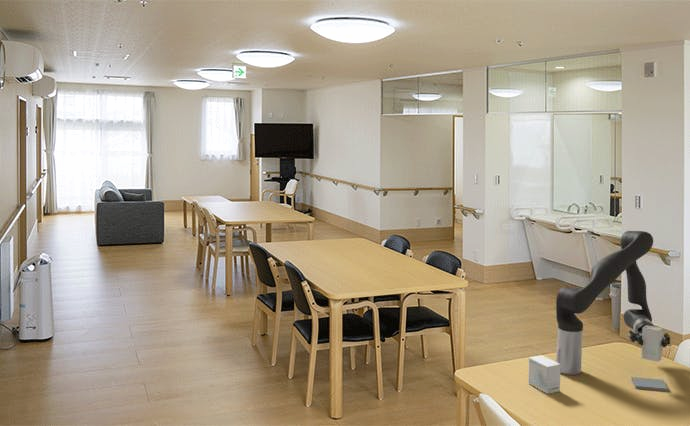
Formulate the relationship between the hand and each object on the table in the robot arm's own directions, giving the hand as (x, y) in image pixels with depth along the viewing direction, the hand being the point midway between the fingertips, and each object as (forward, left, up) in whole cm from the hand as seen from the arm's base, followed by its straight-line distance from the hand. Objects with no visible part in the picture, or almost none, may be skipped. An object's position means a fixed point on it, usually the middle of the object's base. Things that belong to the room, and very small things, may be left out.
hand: (653, 344), depth 235 cm
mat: (0, +2, -17) cm, 17 cm away
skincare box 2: (0, +2, -7) cm, 7 cm away
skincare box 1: (-38, -10, -17) cm, 43 cm away
